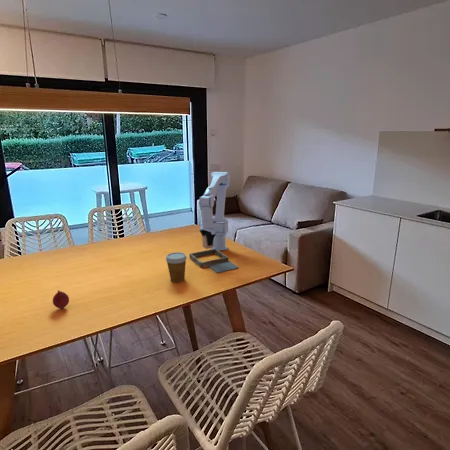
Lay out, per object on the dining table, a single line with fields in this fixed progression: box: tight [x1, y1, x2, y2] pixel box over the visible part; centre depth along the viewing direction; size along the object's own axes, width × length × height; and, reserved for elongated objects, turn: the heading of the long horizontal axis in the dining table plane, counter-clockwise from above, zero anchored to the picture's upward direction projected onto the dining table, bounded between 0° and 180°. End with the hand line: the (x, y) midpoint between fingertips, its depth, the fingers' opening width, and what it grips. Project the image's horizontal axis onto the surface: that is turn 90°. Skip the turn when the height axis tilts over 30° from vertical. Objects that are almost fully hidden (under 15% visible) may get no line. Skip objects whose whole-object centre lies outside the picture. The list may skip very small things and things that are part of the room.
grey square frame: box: [189, 248, 230, 269], centre depth 182 cm, size 16×16×2 cm
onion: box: [52, 289, 70, 310], centre depth 134 cm, size 6×6×8 cm
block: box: [201, 235, 214, 250], centre depth 179 cm, size 4×4×6 cm
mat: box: [208, 261, 239, 274], centre depth 172 cm, size 10×12×1 cm
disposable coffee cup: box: [165, 251, 188, 283], centre depth 157 cm, size 10×10×12 cm
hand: (208, 244), depth 180 cm, fingers closed on block, 4 cm apart
